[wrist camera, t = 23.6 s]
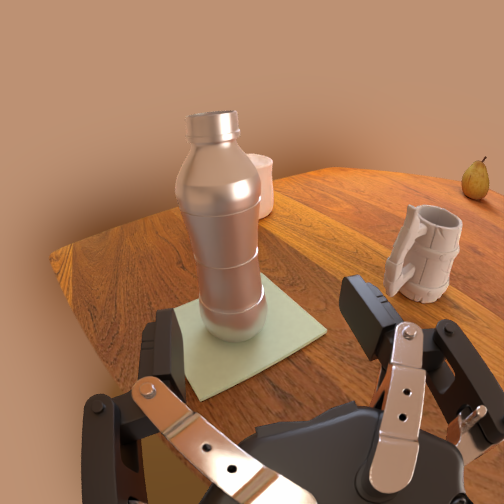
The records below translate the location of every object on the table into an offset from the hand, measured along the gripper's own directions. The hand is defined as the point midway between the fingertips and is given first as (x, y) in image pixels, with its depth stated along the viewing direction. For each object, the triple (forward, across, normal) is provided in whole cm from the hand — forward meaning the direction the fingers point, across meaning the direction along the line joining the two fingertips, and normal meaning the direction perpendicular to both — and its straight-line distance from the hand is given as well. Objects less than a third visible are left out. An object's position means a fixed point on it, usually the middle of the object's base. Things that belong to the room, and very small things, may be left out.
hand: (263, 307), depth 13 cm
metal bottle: (+11, -1, -12) cm, 16 cm away
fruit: (+36, +67, -13) cm, 77 cm away
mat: (+11, -1, -13) cm, 17 cm away
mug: (+11, +21, -13) cm, 27 cm away
